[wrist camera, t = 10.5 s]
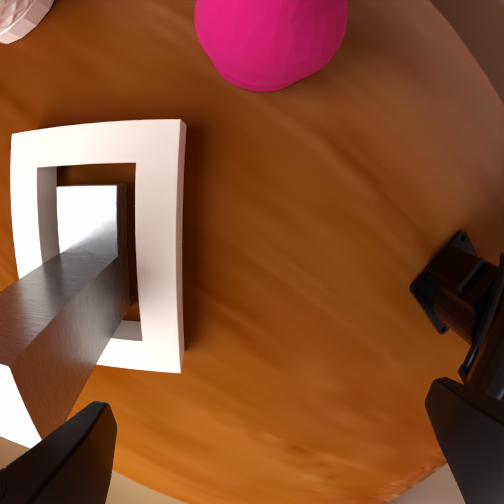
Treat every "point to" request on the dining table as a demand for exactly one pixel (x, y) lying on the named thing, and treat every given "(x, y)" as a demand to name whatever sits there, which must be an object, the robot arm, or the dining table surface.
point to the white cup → (20, 17)
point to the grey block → (64, 312)
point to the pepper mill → (270, 39)
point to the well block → (146, 222)
